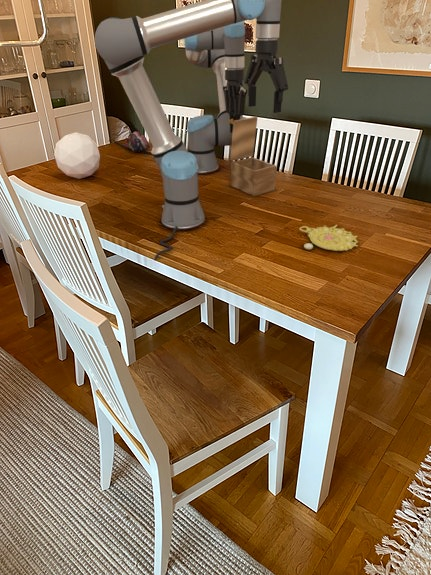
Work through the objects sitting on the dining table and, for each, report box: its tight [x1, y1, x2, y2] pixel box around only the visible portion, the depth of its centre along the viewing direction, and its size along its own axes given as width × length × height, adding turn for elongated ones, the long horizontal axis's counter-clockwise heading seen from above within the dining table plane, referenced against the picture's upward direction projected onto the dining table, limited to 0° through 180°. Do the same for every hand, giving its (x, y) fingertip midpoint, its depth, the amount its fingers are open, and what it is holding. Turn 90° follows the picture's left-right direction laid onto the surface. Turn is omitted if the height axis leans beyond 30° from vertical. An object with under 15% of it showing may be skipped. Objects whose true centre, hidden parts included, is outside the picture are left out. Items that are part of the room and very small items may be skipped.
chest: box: [230, 156, 277, 197], centre depth 181 cm, size 15×11×10 cm
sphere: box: [53, 131, 101, 180], centre depth 196 cm, size 19×20×20 cm
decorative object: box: [299, 224, 359, 252], centre depth 141 cm, size 21×2×20 cm
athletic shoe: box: [122, 130, 151, 153], centre depth 234 cm, size 11×22×12 cm
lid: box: [228, 116, 258, 162], centre depth 180 cm, size 16×11×8 cm
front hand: (264, 109), depth 154 cm, fingers open, 13 cm apart
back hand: (234, 132), depth 181 cm, fingers closed on lid, 1 cm apart
